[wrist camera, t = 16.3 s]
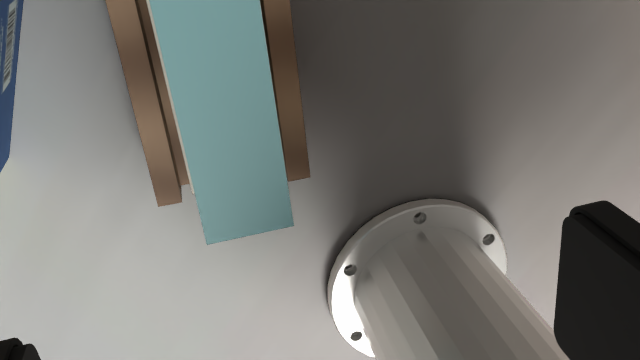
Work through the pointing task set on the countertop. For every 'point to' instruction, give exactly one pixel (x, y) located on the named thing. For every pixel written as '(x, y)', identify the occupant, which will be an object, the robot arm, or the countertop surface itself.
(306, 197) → the countertop surface
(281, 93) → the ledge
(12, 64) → the protein box
